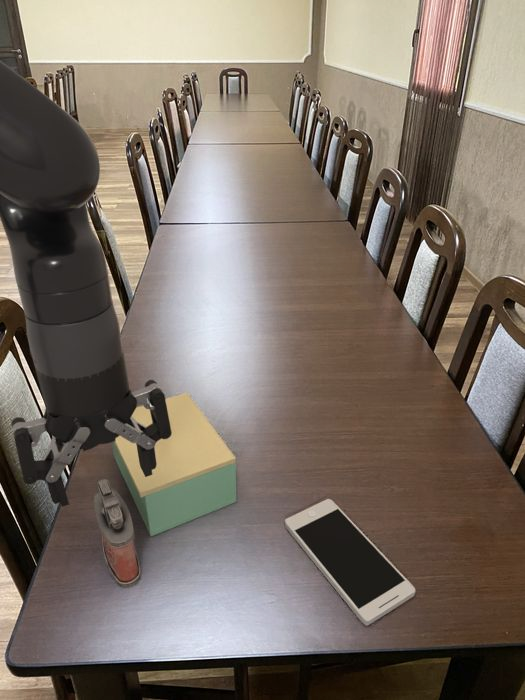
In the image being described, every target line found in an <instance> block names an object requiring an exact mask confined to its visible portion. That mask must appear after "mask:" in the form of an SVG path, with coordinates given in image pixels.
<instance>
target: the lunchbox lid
mask: <svg viewBox="0 0 525 700" xmlns="http://www.w3.org/2000/svg"><path fill="white" fill-rule="evenodd" d="M165 400H166V405H167V411H168V416H169V421H170V426H171V432H172V434H171V436H170V437H169V438H168V439H160V440H158V441H157V442H156V444H155V446H154V448H155V455H156V463H157V465H156V468H155V469H153V470H152V475H150V476H147V477H145V475H144V473H143V471H142V469H141V467H140V463H139V457H138V451H137V445H136V443H131V442H130V441H128V440H126V439H125V438H123V437H121V436H120V435H119V436H118V437H117V438H115V439H116V441H114V443H115V445H116V447H117V449H118V451H119V453H120V455H121V458H122V460H123V462H124V464H125V466H126V468H127V470H128V472H129V474H130V476H131V478H132V481H133V483H134V485H135V487H136V489H137V491H138V493H139V495H140V497H144V496H146V495H149V494H152V493H155V492H157V491H160V490H163V489H165V488H168V487H171V486H173V485H176V484H179V483H182V482H184V481H187V480H190V479H192V478H195V477H198V476H200V475H203V474H206V473H209V472H211V471H214V470H217V469H219V468H222V467H225V466H227V465H230V464H233V463H236V462H237V460H236V459H237V458H236V456H235V455H234V454H233V452H232V450H231V449H230V448H229V447H228V446H227V444H226V442H225V441H224V440H223V438H222V437H221V436H220V435H219V433H218V432H217V431H216V429H215V428H214V427H213V425H212V424H211V422H210V421H209V420H208V419H207V417H206V415H205V414H204V413H203V411H202V410H201V409H200V408H199V407H198V405H197V404H196V402H195V401H194V399H193V398H192V397H191V395H190V393H188V392H183V393H180V394H178V395H177V394H176V395H173V396H170V397H167V398H165ZM132 417H133V418H134V419H135V420H136V421H138V422H139V423H141V424H142V425H144V426H145V427H147V426H149V425H151V424H152V418H151V413H150V409H146V408H145V407H144V405H143V404H142V405H140V406H137V407H136V409H135V411H134V413H133V414H132Z"/></svg>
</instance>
